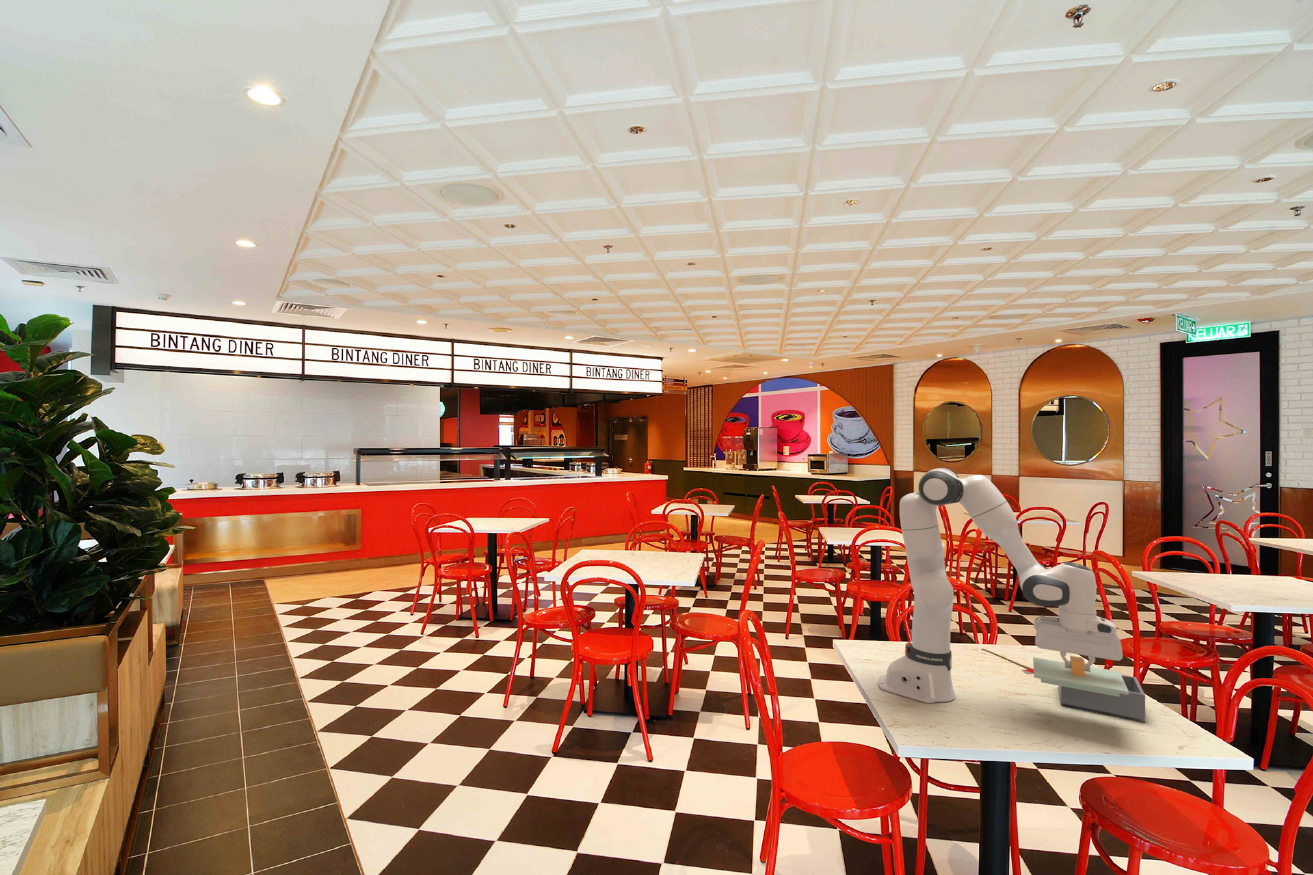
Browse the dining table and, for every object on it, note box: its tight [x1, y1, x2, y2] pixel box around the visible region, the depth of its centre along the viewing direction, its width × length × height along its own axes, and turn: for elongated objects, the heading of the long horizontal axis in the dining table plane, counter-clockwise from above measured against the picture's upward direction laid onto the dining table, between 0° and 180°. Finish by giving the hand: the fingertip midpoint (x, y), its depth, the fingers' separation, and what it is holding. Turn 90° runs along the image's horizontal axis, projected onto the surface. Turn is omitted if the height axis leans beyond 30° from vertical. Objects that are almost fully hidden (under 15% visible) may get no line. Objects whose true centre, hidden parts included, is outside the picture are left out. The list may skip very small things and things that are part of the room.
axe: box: [980, 648, 1034, 675], centre depth 219 cm, size 26×1×10 cm
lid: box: [1032, 655, 1129, 697], centre depth 168 cm, size 21×17×6 cm
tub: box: [1057, 674, 1146, 724], centre depth 182 cm, size 20×16×8 cm
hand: (1077, 669), depth 168 cm, fingers closed on lid, 3 cm apart
